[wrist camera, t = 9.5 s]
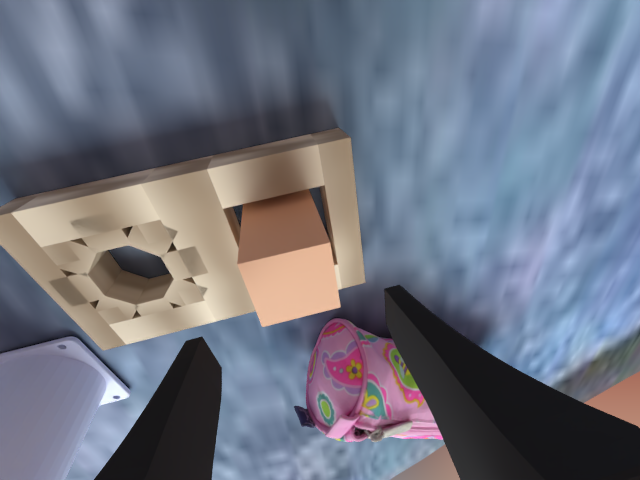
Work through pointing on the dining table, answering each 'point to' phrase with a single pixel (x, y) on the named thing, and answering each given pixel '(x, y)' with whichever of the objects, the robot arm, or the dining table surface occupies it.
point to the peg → (286, 258)
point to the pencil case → (362, 389)
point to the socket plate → (175, 235)
